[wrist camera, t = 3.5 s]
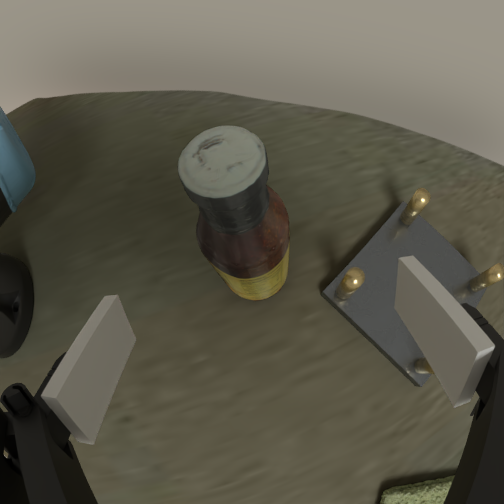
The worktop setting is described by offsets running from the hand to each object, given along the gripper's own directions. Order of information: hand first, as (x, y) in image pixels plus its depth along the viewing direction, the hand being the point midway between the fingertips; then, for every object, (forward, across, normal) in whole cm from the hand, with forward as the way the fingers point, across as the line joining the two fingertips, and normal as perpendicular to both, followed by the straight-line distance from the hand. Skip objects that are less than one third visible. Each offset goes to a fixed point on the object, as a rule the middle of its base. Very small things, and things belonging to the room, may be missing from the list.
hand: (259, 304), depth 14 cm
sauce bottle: (+17, -1, -7) cm, 18 cm away
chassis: (+13, +15, -10) cm, 23 cm away
